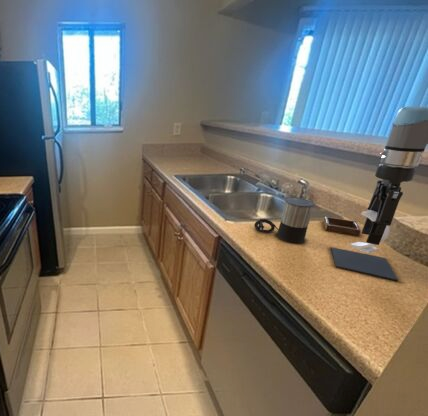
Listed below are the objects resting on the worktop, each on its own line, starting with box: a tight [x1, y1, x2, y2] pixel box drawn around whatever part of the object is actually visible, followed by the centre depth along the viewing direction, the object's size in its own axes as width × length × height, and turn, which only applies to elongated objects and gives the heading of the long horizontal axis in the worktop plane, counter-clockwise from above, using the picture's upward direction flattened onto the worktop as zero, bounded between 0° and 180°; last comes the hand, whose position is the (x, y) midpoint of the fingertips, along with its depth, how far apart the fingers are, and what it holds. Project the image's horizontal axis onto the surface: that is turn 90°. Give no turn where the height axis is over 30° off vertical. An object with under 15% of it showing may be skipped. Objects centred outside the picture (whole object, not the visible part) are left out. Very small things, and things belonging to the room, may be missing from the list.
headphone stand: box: [349, 209, 390, 255], centre depth 84 cm, size 5×6×12 cm
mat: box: [330, 246, 399, 282], centre depth 88 cm, size 14×14×1 cm
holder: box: [323, 216, 362, 237], centre depth 111 cm, size 10×10×2 cm
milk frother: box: [253, 197, 316, 244], centre depth 105 cm, size 14×16×15 cm
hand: (369, 238), depth 85 cm, fingers closed on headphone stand, 6 cm apart
